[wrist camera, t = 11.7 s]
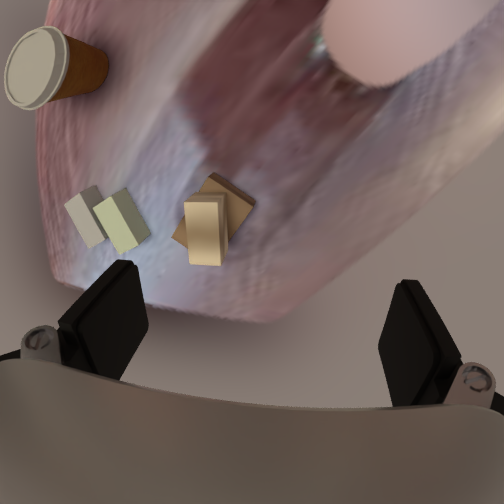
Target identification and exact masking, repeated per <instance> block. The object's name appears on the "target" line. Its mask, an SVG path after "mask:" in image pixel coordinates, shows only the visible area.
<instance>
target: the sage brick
mask: <svg viewBox="0 0 504 504" xmlns="http://www.w3.org/2000/svg"><path fill="white" fill-rule="evenodd" d="M93 210H94V211H95V213H96V215H97V217H98V219H99V220H100V222H101V224H102V226H103V228H104V229H105V231H106V233H107V234H108V236H109V238H110V240H111V241H112V243H113V245H114V246H115V248H116V250H117V251H118V253H119V255H120V254H122V253H124V252H126V251H128V250H130V249H132V248H134V247H136V246H138V245H139V244H140V243H141V242H142V241H143V240H145V239H146V238H147V237H148V236H149V235H150V234H151V232H150V231H149V229H148V227H147V225H146V224H145V222H144V220H143V218H142V216H141V215H140V213H139V211H138V209H137V207H136V206H135V204H134V202H133V200H132V198H131V196H130V195H129V193H128V191H127V189H126V188H125V189H123V190H121V191H119V192H117V193H115V194H114V195H112V196H110V197H109V198H107V199H106V200H104V201H103V202H101V203H100V204H98V205H97V206H95V207H94V208H93Z"/></svg>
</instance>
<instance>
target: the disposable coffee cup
mask: <svg viewBox="0 0 504 504" xmlns="http://www.w3.org/2000/svg"><path fill="white" fill-rule="evenodd" d="M108 68H109V63H108V58H107V56H106V54H105V53H104V52H103V51H102V50H100V49H97V48H95V47H93V46H90V45H88V44H86V43H84V42H82V41H79V40H77V39H74V38H72V37H69V36H67V35H65V34H63V33H62V32H61V31H60V30H59V29H57V28H56V27H53V26H43V27H40V28H38V29H34V30H32V31H29V32H28V33H26V34H25V35H24V36H23V37H21V38H20V40H19V41H18V42H17V43H16V45H15V46H14V48H13V49H12V51H11V53H10V55H9V58H8V60H7V64H6V68H5V73H4V86H5V92H6V95H7V97H8V99H9V100H10V102H11V103H13V104H14V105H16V106H18V107H20V108H22V109H25V110H34V109H37V108H39V107H41V106H43V105H44V104H45V103H47V102H51V101H55V100H59V99H63V98H67V97H71V96H75V95H79V94H84V93H89V92H92V91H95V90H96V89H97V88H99V87H100V86H101V84H102V83H103V82H104V80H105V78H106V76H107V73H108Z"/></svg>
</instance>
